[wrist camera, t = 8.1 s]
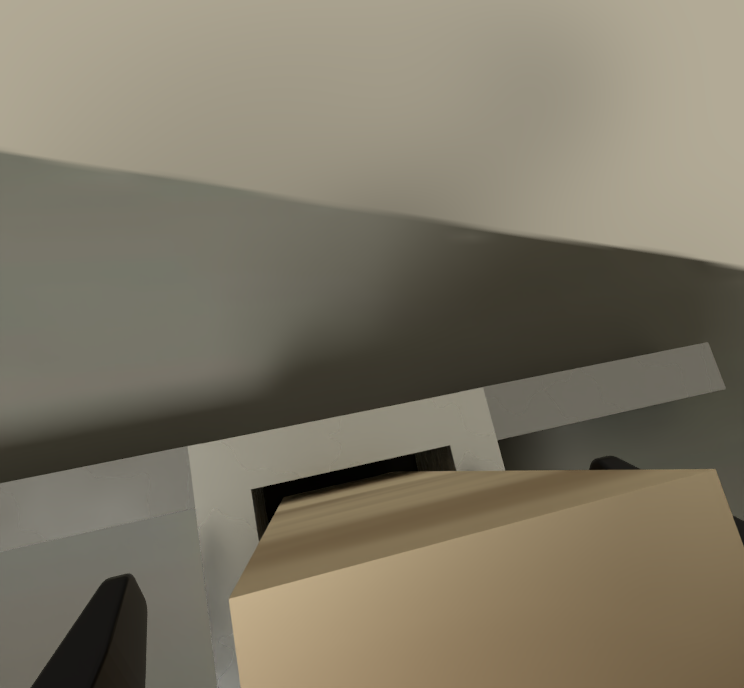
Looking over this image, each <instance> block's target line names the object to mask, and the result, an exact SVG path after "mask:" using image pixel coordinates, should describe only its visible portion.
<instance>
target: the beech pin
mask: <svg viewBox="0 0 744 688" xmlns="http://www.w3.org/2000/svg"><path fill="white" fill-rule="evenodd" d="M229 605H230V613H231V620H232V627H233V635H234V642H235V649H236V657H237V664H238V671H239V679H240V686H241V688H744V546H743V543H742V540H741V538H740V535H739V532H738V529H737V527H736V524H735V521H734V519H733V516H732V513H731V510H730V508H729V505H728V502H727V499H726V497H725V494H724V491H723V488H722V486H721V483H720V480H719V478H718V475H717V472H716V469H658V470H530V471H401V472H390V473H386V474H381V475H377V476H373V477H369V478H364V479H360V480H356V481H351V482H347V483H343V484H338V485H334V486H330V487H325V488H321V489H317V490H312V491H308V492H304V493H299V494H295V495H291V496H286V497H283V499H282V501H281V503H280V505H279V507H278V508H277V510H276V512H275V514H274V516H273V518H272V520H271V521H270V523H269V525H268V527H267V529H266V531H265V533H264V534H263V536H262V538H261V540H260V542H259V544H258V546H257V547H256V549H255V551H254V553H253V555H252V557H251V558H250V560H249V562H248V564H247V566H246V568H245V570H244V571H243V573H242V575H241V577H240V579H239V581H238V583H237V584H236V586H235V588H234V590H233V592H232V594H231V596H230V597H229Z"/></svg>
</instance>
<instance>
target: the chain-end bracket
mask: <svg viewBox="0 0 744 688" xmlns="http://www.w3.org/2000/svg"><path fill="white" fill-rule="evenodd" d="M723 389H726V387H725V385H724V382H723V380H722V377H721V374H720V372H719V369H718V366H717V364H716V361H715V359H714V356H713V353H712V351H711V348H710V346H709V343H708V342H706V343H701V344H696V345H691V346H686V347H681V348H676V349H671V350H666V351H661V352H656V353H651V354H646V355H641V356H636V357H631V358H626V359H621V360H616V361H611V362H606V363H601V364H596V365H591V366H586V367H581V368H576V369H571V370H566V371H561V372H556V373H551V374H546V375H541V376H536V377H531V378H526V379H521V380H516V381H511V382H506V383H501V384H496V385H491V386H486V387H481V388H475V389H470V390H465V391H460V392H458V393H453V394H448V395H443V396H438V397H433V398H428V399H423V400H418V401H413V402H408V403H403V404H398V405H393V406H388V407H383V408H378V409H373V410H368V411H363V412H358V413H353V414H348V415H343V416H338V417H333V418H328V419H323V420H318V421H313V422H308V423H303V424H298V425H293V426H288V427H283V428H278V429H273V430H268V431H263V432H258V433H253V434H248V435H243V436H238V437H233V438H228V439H223V440H218V441H213V442H208V443H203V444H202V443H200V444H195V445H190V446H185V447H180V448H175V449H170V450H165V451H160V452H155V453H150V454H145V455H140V456H135V457H130V458H125V459H120V460H115V461H110V462H105V463H100V464H95V465H90V466H85V467H80V468H75V469H70V470H65V471H60V472H55V473H50V474H45V475H40V476H35V477H30V478H25V479H20V480H15V481H10V482H5V483H0V552H2V551H6V550H11V549H15V548H20V547H24V546H29V545H33V544H38V543H42V542H46V541H51V540H55V539H60V538H64V537H69V536H73V535H78V534H82V533H87V532H91V531H95V530H100V529H104V528H109V527H113V526H118V525H122V524H127V523H131V522H136V521H140V520H144V519H149V518H153V517H158V516H162V515H167V514H171V513H176V512H180V511H185V510H189V509H193V508H195V509H196V517H197V525H198V533H199V542H200V550H201V558H202V566H203V574H204V582H205V590H206V598H207V606H208V614H209V622H210V630H211V638H212V646H213V654H214V663H215V671H216V679H217V687H218V688H241V686H240V679H239V671H238V664H237V657H236V649H235V642H234V635H233V627H232V620H231V613H230V605H229V597H230V596H231V594H232V592H233V590H234V588H235V586H236V584H237V583H238V581H239V579H240V577H241V575H242V573H243V571H244V570H245V568H246V566H247V564H248V562H249V560H250V558H251V557H252V555H253V553H254V551H255V549H256V547H257V546H258V544H259V542H260V540H261V538H262V536H263V534H264V533H265V531H266V529H267V527H268V525H269V523H268V517H267V511H266V504H265V498H264V491H263V487H264V486H268V485H273V484H277V483H282V482H286V481H291V480H295V479H300V478H304V477H309V476H313V475H318V474H322V473H327V472H331V471H336V470H340V469H345V468H349V467H354V466H358V465H363V464H367V463H372V462H376V461H381V460H385V459H390V458H395V457H399V456H404V455H408V454H413V453H414V455H415V460H416V464H417V469H418V471H505V468H504V464H503V460H502V456H501V453H500V449H499V445H498V442H497V440H501V439H505V438H510V437H514V436H518V435H523V434H527V433H532V432H536V431H541V430H545V429H550V428H554V427H559V426H563V425H567V424H572V423H576V422H581V421H585V420H590V419H594V418H599V417H603V416H608V415H612V414H616V413H621V412H625V411H630V410H634V409H639V408H643V407H648V406H652V405H657V404H661V403H665V402H670V401H674V400H679V399H683V398H688V397H692V396H697V395H701V394H706V393H710V392H714V391H719V390H723Z"/></svg>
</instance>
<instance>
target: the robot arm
mask: <svg viewBox="0 0 744 688" xmlns="http://www.w3.org/2000/svg"><path fill="white" fill-rule="evenodd" d="M589 470H641V469H639V468H637V467H635V466H633V465H631V464H629V463H627V462H625V461H623V460H621V459H619V458H617V457H614V456H605V457H601V458H597V459H594V460H593V461H592V462H591V465H590V469H589ZM732 516H733V515H732ZM733 519H734V521H735V524H736V527H737V529H738V532H739V535H740V538H741V540H742V543H743V546H744V521H743V520H741V519H739V518H737V517H735V516H733ZM146 642H147V605H146V601H145V598H144V596H143V594H142V592H141V590H140V588H139V586H138V584H137V582H136V580H135V578H134V577H133V575H131V574H123V575H119V576H115V577H111V578H108V579H106V580H105V581H104V582H103V583H102V584H101V585H100V587H99V588H98V590H97V591H96V593H95V594H94V595H93V597H92V598H91V600H90V601H89V603H88V604H87V606H86V607H85V609H84V610H83V612H82V613H81V615H80V616H79V617H78V619H77V620H76V622H75V623H74V625H73V626H72V628H71V629H70V631H69V632H68V634H67V635H66V637H65V638H64V640H63V641H62V642H61V644H60V645H59V647H58V648H57V650H56V651H55V653H54V654H53V656H52V657H51V659H50V660H49V662H48V663H47V665H46V666H45V667H44V669H43V670H42V672H41V673H40V675H39V676H38V678H37V679H36V681H35V682H34V684H33V685H32V687H31V688H145V676H146Z"/></svg>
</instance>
